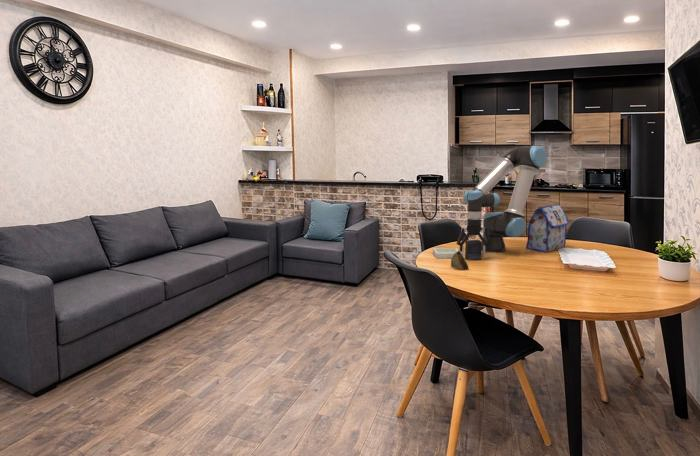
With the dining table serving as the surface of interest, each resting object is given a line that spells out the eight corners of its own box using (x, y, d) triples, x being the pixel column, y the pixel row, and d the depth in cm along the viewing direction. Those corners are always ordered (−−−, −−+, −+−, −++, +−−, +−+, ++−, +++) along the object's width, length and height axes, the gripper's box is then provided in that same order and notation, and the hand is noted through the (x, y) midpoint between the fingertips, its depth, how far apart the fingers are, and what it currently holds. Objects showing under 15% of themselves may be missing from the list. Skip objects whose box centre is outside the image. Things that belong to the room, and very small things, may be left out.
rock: (445, 261, 243) (447, 263, 233) (455, 248, 242) (458, 249, 232) (461, 273, 242) (465, 275, 233) (471, 260, 242) (475, 262, 232)
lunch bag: (550, 254, 265) (553, 208, 261) (524, 249, 278) (526, 206, 273) (569, 248, 279) (572, 205, 274) (543, 244, 292) (546, 203, 287)
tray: (456, 252, 272) (456, 248, 271) (461, 258, 258) (461, 253, 257) (432, 253, 272) (432, 248, 271) (436, 258, 258) (436, 253, 257)
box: (478, 257, 258) (479, 239, 257) (481, 260, 253) (482, 241, 251) (464, 258, 259) (465, 239, 257) (467, 260, 253) (467, 241, 251)
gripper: (493, 217, 255) (492, 255, 259) (451, 217, 256) (450, 255, 259) (497, 219, 248) (496, 258, 252) (454, 219, 248) (453, 258, 252)
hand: (473, 257), depth 256 cm, fingers open, 11 cm apart
